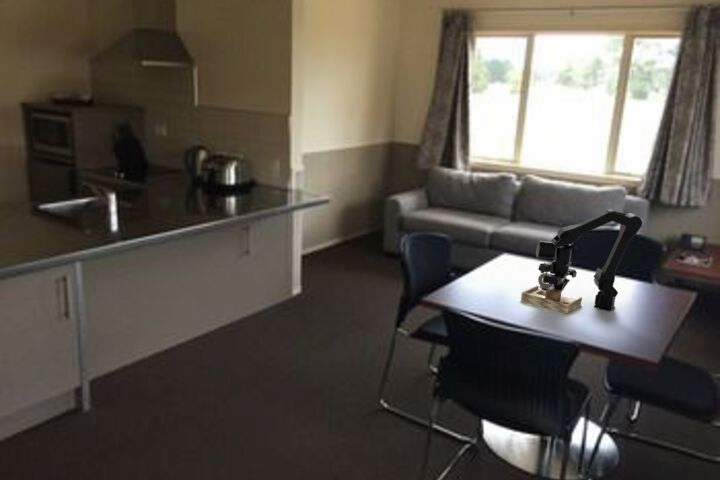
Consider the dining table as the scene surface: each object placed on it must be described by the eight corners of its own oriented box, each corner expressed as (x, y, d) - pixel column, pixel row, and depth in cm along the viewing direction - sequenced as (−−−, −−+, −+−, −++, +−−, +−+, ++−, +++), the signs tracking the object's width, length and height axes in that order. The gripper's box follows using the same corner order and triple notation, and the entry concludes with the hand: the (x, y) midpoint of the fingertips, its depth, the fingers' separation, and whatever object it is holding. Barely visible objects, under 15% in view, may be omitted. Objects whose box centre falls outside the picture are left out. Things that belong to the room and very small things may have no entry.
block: (560, 301, 244) (561, 290, 243) (555, 303, 241) (556, 293, 240) (549, 298, 247) (551, 287, 246) (544, 300, 244) (546, 290, 242)
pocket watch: (553, 286, 269) (556, 264, 267) (557, 292, 261) (561, 270, 259) (535, 284, 270) (537, 263, 268) (538, 290, 262) (541, 268, 260)
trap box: (580, 305, 246) (582, 297, 245) (566, 313, 236) (567, 305, 235) (536, 293, 259) (537, 285, 258) (520, 300, 248) (521, 292, 248)
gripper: (553, 251, 255) (548, 286, 259) (533, 258, 241) (528, 295, 245) (579, 257, 247) (574, 293, 251) (559, 265, 234) (554, 303, 238)
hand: (557, 296), depth 247 cm, fingers closed
